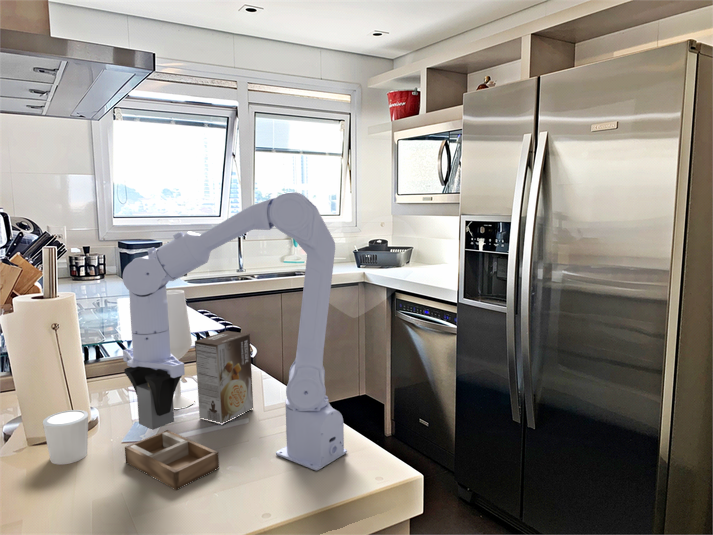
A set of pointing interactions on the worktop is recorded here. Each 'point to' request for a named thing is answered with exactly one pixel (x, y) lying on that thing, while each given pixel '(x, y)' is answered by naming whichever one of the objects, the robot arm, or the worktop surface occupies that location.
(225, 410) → the coffee box
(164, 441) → the walnut box
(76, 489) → the worktop surface
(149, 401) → the plug
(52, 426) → the white cup
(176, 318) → the champagne flute
